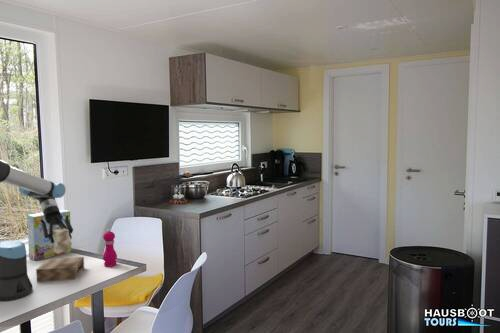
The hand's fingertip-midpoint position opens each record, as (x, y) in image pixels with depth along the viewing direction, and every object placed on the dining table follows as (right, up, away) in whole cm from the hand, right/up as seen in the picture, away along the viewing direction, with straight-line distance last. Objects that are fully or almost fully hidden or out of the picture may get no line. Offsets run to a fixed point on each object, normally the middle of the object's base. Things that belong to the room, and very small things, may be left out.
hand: (63, 246), depth 196 cm
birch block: (-3, -3, +3) cm, 5 cm away
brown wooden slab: (-3, -15, +3) cm, 16 cm away
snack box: (-25, -13, +36) cm, 45 cm away
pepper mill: (+17, -14, +17) cm, 28 cm away
